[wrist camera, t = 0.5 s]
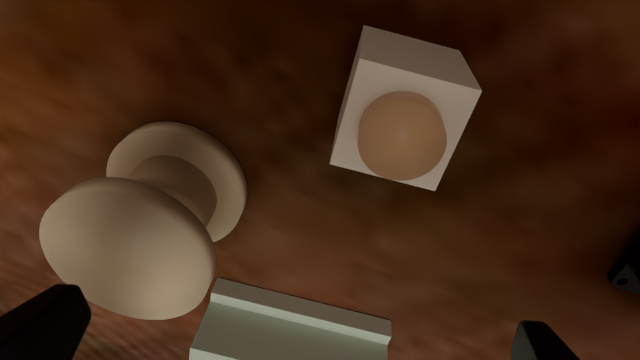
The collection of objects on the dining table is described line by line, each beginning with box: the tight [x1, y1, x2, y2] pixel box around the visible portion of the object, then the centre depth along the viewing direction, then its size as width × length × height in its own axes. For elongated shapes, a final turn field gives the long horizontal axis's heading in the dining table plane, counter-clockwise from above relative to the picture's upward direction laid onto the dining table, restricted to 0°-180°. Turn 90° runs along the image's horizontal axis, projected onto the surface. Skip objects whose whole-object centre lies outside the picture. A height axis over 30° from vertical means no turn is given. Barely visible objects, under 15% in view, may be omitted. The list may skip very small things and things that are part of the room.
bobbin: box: [39, 121, 247, 320], centre depth 20 cm, size 7×7×6 cm
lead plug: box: [330, 25, 482, 191], centre depth 16 cm, size 4×4×6 cm
